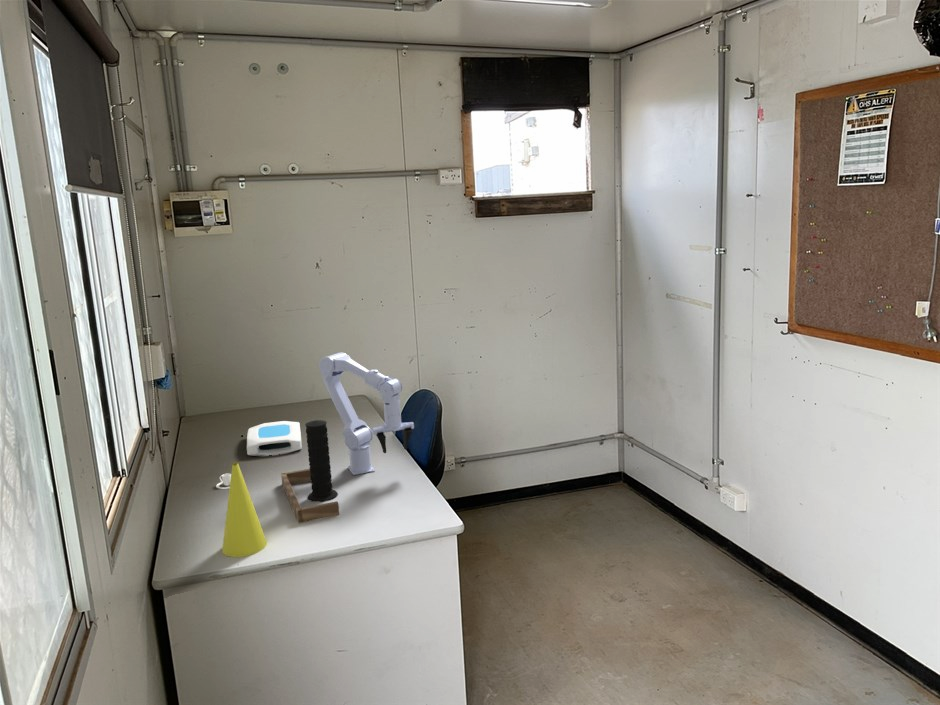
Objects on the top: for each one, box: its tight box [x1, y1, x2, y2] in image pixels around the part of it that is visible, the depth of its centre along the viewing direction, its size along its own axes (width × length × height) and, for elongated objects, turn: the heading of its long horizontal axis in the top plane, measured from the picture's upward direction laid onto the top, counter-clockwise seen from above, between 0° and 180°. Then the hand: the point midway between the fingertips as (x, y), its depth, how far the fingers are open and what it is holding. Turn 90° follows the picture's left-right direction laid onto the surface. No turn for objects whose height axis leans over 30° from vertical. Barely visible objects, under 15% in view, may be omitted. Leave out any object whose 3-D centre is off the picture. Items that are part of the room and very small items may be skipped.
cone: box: [221, 461, 268, 558], centre depth 203 cm, size 12×12×25 cm
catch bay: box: [280, 468, 340, 524], centre depth 238 cm, size 36×13×4 cm, turn 22°
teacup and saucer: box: [215, 472, 231, 490], centre depth 254 cm, size 9×8×4 cm
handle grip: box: [304, 419, 339, 503], centre depth 237 cm, size 10×26×10 cm
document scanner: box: [246, 420, 303, 457], centre depth 297 cm, size 21×28×6 cm
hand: (395, 450), depth 253 cm, fingers open, 7 cm apart
